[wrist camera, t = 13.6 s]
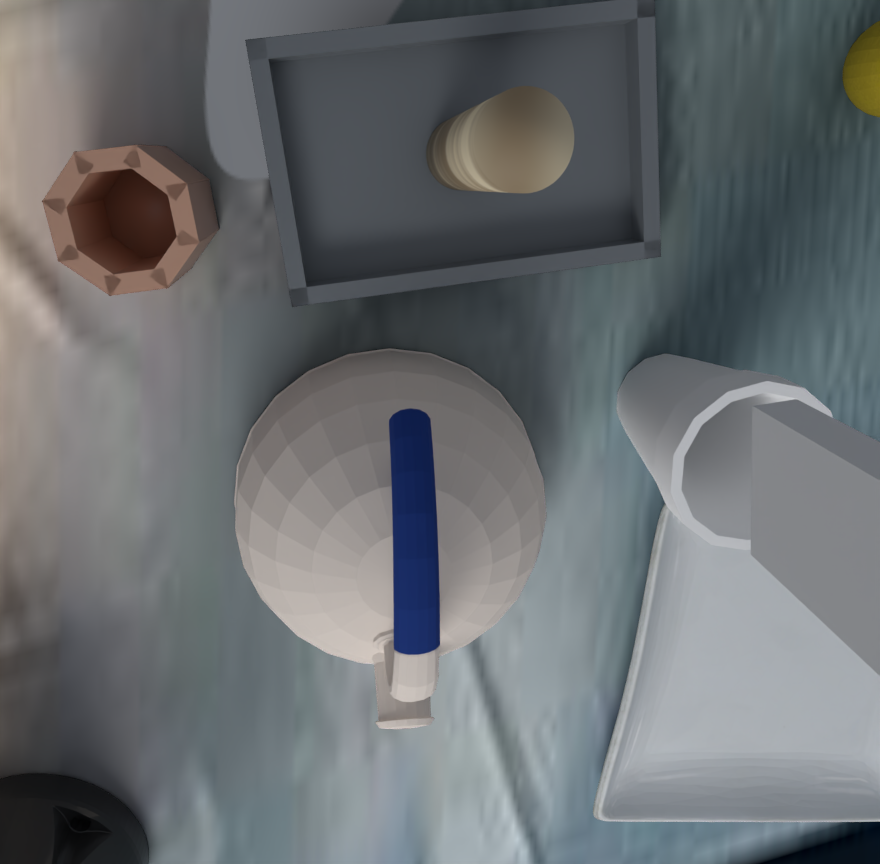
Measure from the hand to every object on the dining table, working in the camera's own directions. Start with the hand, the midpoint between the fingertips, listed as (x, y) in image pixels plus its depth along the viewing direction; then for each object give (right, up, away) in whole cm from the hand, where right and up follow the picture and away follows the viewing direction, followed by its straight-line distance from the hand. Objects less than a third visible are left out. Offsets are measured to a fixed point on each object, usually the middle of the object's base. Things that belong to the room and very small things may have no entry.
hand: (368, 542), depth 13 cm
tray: (+2, +18, +35) cm, 40 cm away
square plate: (+27, -15, +51) cm, 60 cm away
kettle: (-2, -3, +42) cm, 42 cm away
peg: (+2, +18, +34) cm, 39 cm away
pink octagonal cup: (-15, +14, +34) cm, 40 cm away
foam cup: (+16, +4, +42) cm, 45 cm away
